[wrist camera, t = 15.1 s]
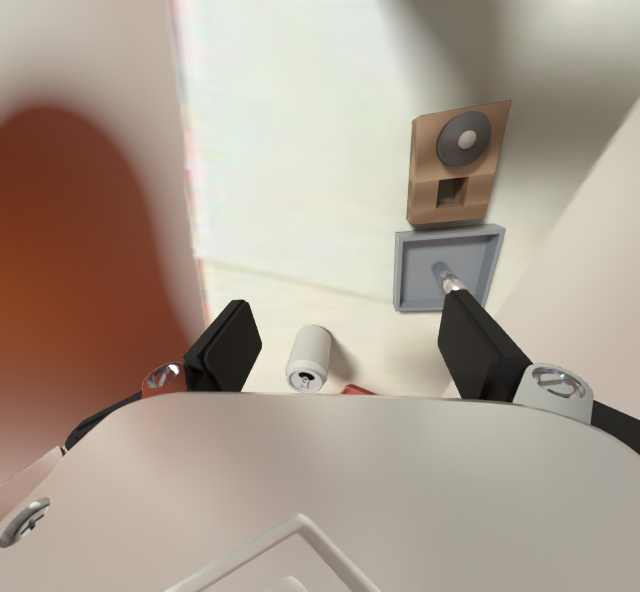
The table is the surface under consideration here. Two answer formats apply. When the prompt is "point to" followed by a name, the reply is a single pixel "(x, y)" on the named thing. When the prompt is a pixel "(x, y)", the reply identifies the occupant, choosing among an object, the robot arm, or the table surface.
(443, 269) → the lock pin
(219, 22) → the table surface
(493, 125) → the block
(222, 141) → the table surface
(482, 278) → the tray
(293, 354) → the can
